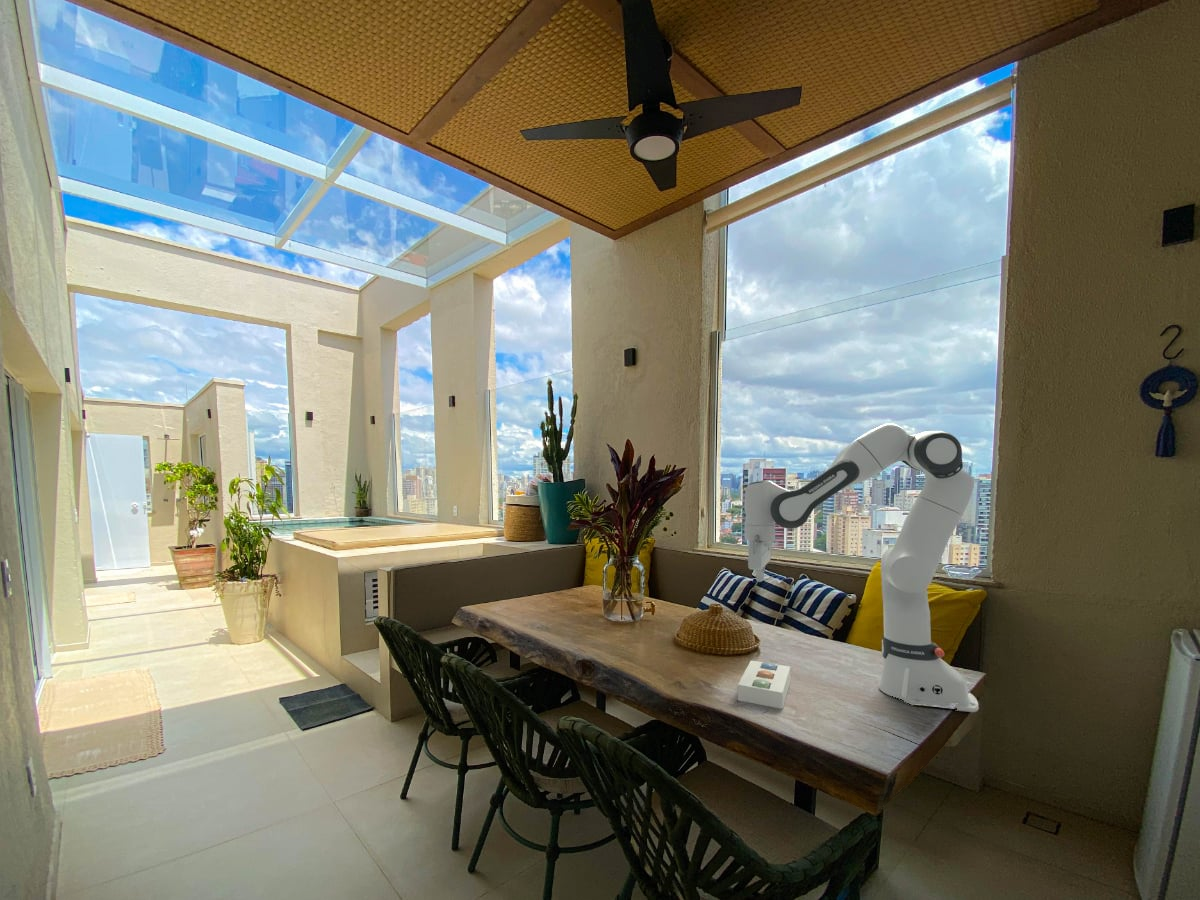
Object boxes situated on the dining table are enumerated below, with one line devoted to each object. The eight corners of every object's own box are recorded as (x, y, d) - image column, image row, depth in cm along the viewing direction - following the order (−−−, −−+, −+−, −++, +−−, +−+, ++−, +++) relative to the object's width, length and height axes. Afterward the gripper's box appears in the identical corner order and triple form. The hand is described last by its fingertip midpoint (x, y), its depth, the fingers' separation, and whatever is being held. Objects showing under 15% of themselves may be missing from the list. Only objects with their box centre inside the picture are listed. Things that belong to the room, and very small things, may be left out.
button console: (790, 681, 145) (790, 666, 146) (782, 709, 127) (782, 692, 128) (750, 674, 150) (750, 660, 150) (737, 700, 132) (737, 684, 132)
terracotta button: (773, 682, 140) (773, 671, 140) (771, 687, 136) (771, 676, 137) (759, 680, 141) (759, 669, 141) (757, 685, 138) (757, 673, 138)
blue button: (776, 674, 146) (776, 663, 146) (774, 678, 143) (774, 667, 143) (763, 672, 147) (763, 661, 148) (761, 676, 144) (761, 665, 144)
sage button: (769, 692, 133) (769, 680, 134) (767, 697, 130) (767, 685, 130) (755, 689, 135) (755, 678, 135) (753, 694, 132) (753, 683, 132)
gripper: (765, 538, 142) (765, 588, 142) (775, 531, 161) (775, 576, 160) (742, 536, 145) (742, 586, 144) (754, 530, 164) (754, 574, 163)
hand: (760, 580), depth 152 cm, fingers closed
